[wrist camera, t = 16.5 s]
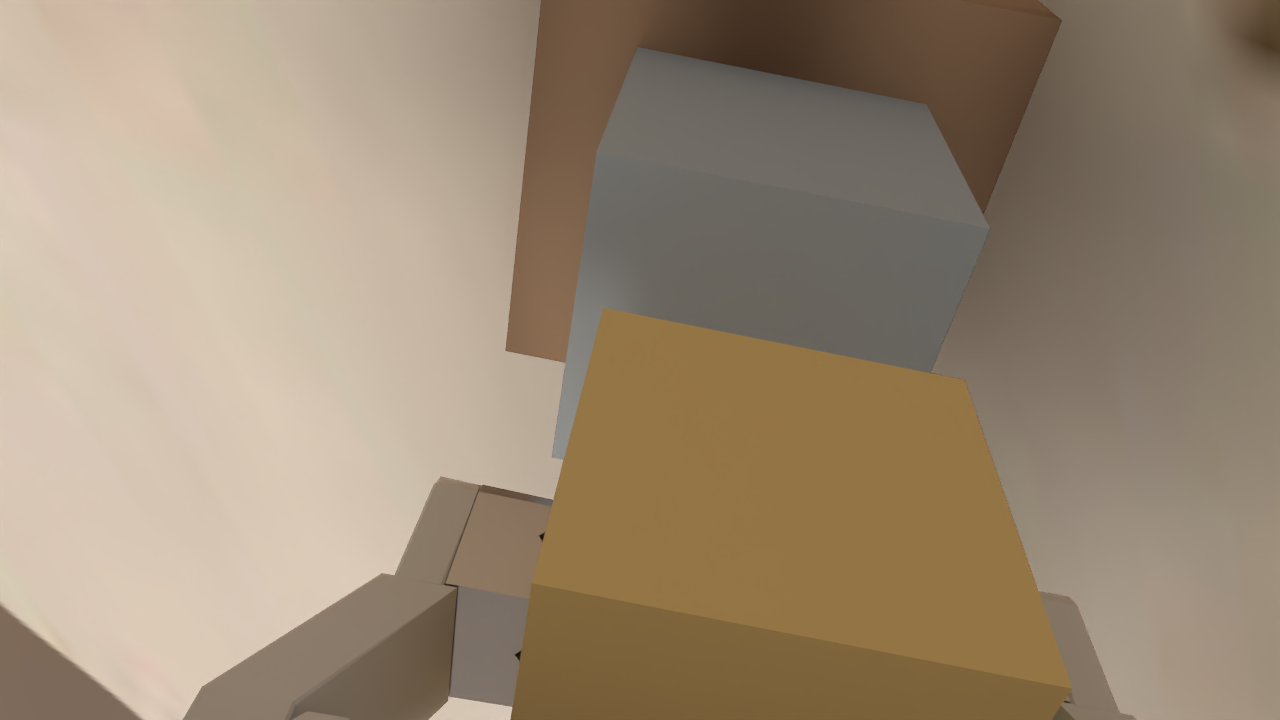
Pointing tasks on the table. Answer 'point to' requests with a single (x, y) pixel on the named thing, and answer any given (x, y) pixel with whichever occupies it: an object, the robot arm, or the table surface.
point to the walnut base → (768, 42)
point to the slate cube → (772, 217)
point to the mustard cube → (778, 545)
